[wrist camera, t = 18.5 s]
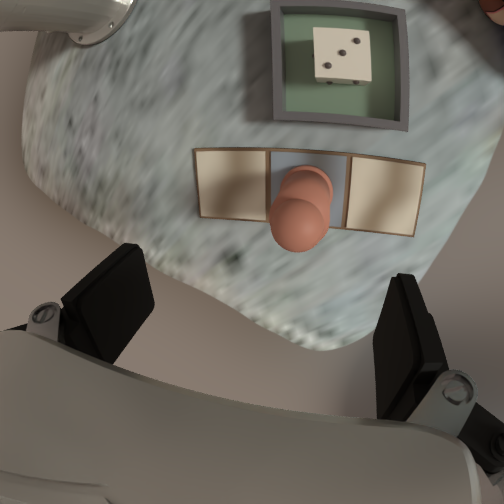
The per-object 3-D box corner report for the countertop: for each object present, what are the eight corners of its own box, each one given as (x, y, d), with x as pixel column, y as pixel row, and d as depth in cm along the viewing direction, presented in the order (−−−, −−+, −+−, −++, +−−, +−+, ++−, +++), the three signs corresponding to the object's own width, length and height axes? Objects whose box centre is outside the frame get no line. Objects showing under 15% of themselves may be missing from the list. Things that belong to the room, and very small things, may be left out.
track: (201, 216, 33) (199, 218, 33) (195, 148, 30) (193, 149, 29) (413, 235, 28) (414, 238, 27) (424, 163, 24) (426, 164, 24)
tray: (278, 118, 26) (273, 119, 24) (276, 9, 21) (270, -1, 18) (400, 129, 24) (407, 131, 21) (398, 18, 18) (404, 9, 15)
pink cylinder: (281, 212, 30) (256, 267, 21) (281, 163, 28) (254, 196, 18) (331, 216, 29) (330, 274, 20) (334, 166, 27) (337, 201, 17)
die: (313, 85, 23) (311, 80, 19) (312, 39, 21) (308, 26, 17) (364, 88, 22) (372, 84, 18) (363, 42, 20) (369, 30, 16)
